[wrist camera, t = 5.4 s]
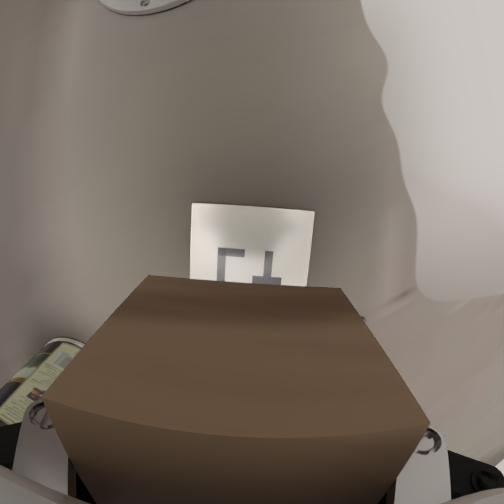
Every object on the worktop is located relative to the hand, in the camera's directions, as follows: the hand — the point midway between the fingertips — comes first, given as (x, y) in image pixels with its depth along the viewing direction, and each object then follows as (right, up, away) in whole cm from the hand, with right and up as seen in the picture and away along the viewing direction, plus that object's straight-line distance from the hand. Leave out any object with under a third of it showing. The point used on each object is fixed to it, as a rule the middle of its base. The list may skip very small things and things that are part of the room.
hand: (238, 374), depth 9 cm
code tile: (0, +3, +14) cm, 15 cm away
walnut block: (0, 0, +1) cm, 1 cm away
